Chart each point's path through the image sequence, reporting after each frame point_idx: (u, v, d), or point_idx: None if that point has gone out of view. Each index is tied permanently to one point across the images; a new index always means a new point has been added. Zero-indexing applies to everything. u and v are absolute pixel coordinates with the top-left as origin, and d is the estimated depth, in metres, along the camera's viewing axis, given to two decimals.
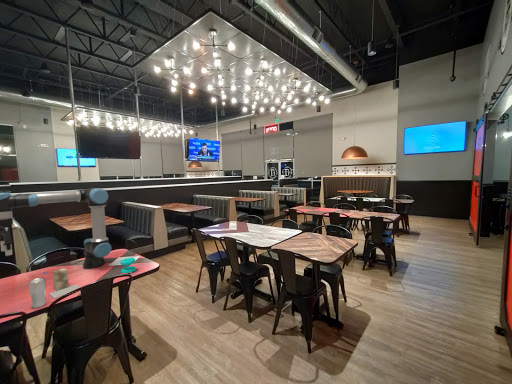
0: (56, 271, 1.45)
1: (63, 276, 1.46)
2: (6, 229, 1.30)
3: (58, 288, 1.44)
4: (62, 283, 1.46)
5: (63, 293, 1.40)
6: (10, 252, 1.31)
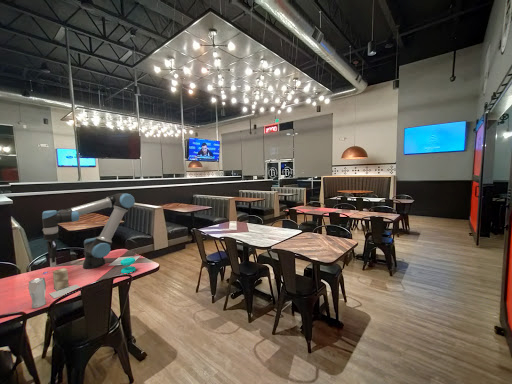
0: (56, 271, 1.45)
1: (63, 276, 1.46)
2: (54, 246, 1.50)
3: (58, 288, 1.44)
4: (62, 283, 1.46)
5: (63, 293, 1.40)
6: (54, 264, 1.54)
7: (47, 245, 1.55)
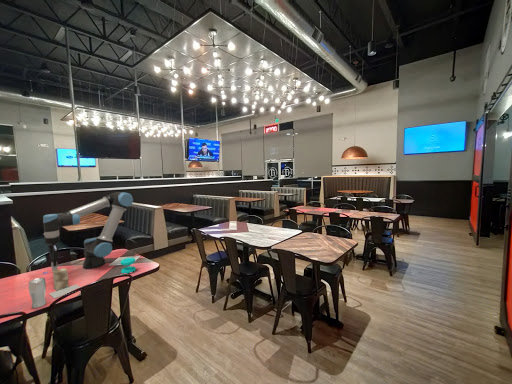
0: (56, 271, 1.45)
1: (63, 276, 1.46)
2: (55, 250, 1.49)
3: (58, 288, 1.44)
4: (62, 283, 1.46)
5: (63, 293, 1.40)
6: (56, 268, 1.53)
7: None
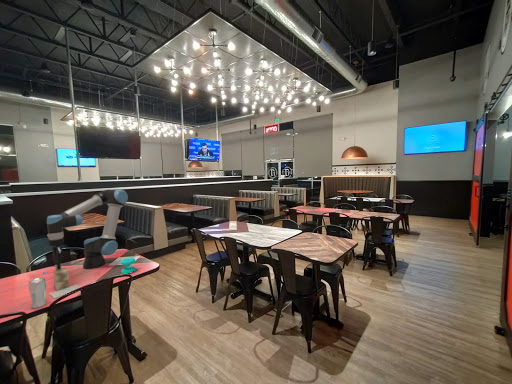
0: (57, 271, 1.44)
1: (64, 277, 1.45)
2: (59, 252, 1.44)
3: (58, 288, 1.44)
4: (62, 283, 1.46)
5: (63, 293, 1.40)
6: None
7: (52, 251, 1.49)
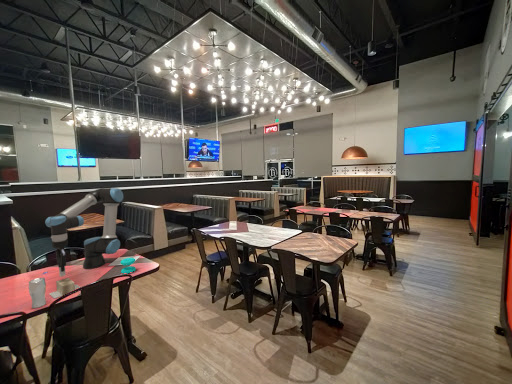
0: (65, 290, 1.38)
1: None
2: (63, 254, 1.40)
3: None
4: None
5: None
6: (64, 273, 1.45)
7: (56, 253, 1.45)
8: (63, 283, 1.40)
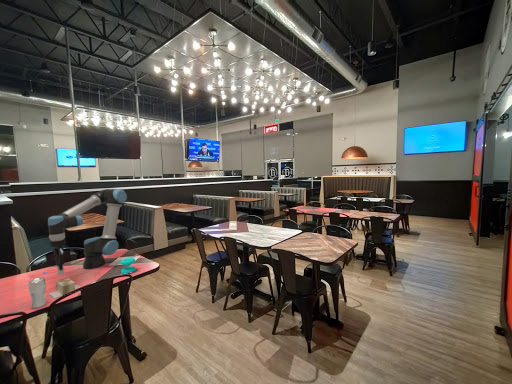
0: (65, 290, 1.38)
1: None
2: (62, 253, 1.44)
3: None
4: None
5: None
6: (62, 271, 1.48)
7: (54, 252, 1.48)
8: (63, 283, 1.40)
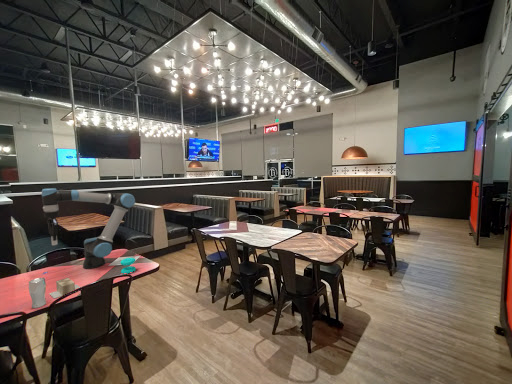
0: (65, 290, 1.38)
1: None
2: (55, 223, 1.49)
3: None
4: None
5: None
6: (56, 242, 1.53)
7: (48, 224, 1.53)
8: (63, 283, 1.40)
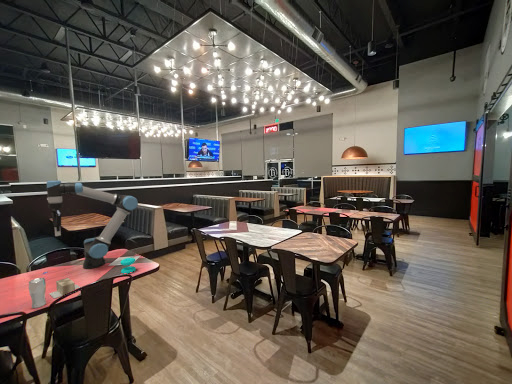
0: (65, 290, 1.38)
1: None
2: (59, 214, 1.53)
3: None
4: None
5: None
6: (59, 233, 1.57)
7: (52, 215, 1.58)
8: (63, 283, 1.40)
